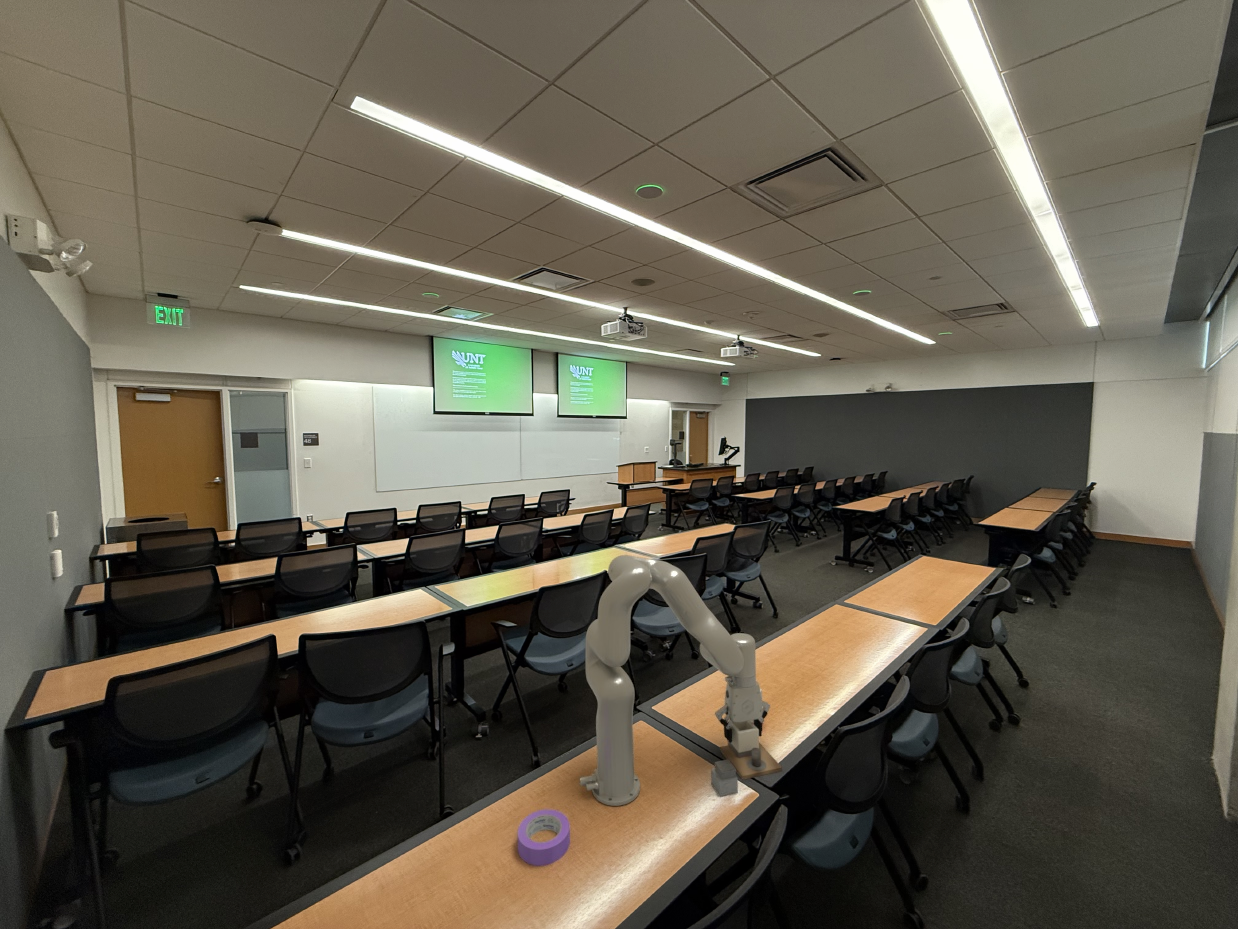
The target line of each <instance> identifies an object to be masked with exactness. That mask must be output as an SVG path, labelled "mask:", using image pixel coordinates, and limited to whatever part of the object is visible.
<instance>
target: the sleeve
mask: <svg viewBox="0 0 1238 929" xmlns="http://www.w3.org/2000/svg"><path fill="white" fill-rule="evenodd" d="M731 729H732V742H731V743H730V742H729V741H728V740H727V745H729V746H730V748H731V749H732V750H733V751H734V753H735V754H736V755H737V756H738V757H739V758H741V757H746V756H750V755H752V748H759V743H760V737H759V729H758V728H757V727H756V726H755V725H754V724H753V723H752V722H751V721H745V722H740V723H733V724H732V726H731Z"/></svg>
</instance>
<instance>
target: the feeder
mask: <svg viewBox="0 0 1238 929" xmlns="http://www.w3.org/2000/svg"><path fill="white" fill-rule="evenodd" d="M710 778H711V779H710V780H711V786H712V787H713V788H714V790H715V792H716V793H717V795H718V796H719V798H722V797H726V796H730V795H735V794H738V793H739V792H738V791H739V787H738V786H739V785H738V784H739V783H738V776H737V772H736V769H735V767H734V766H733V765H732V763H731V762H730V761H729V760H727V759H724V760H719V761H714V768H711V769H710Z"/></svg>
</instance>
